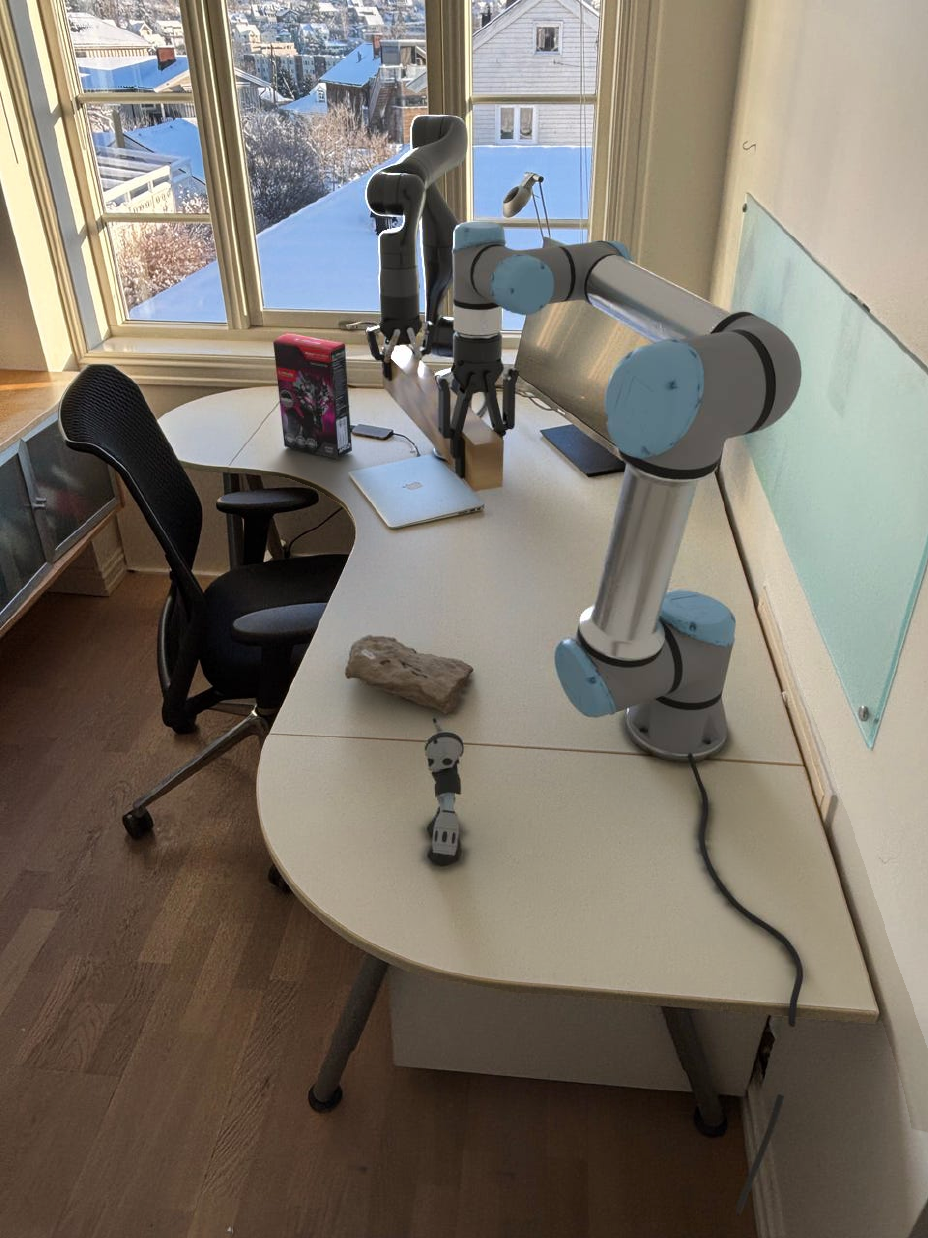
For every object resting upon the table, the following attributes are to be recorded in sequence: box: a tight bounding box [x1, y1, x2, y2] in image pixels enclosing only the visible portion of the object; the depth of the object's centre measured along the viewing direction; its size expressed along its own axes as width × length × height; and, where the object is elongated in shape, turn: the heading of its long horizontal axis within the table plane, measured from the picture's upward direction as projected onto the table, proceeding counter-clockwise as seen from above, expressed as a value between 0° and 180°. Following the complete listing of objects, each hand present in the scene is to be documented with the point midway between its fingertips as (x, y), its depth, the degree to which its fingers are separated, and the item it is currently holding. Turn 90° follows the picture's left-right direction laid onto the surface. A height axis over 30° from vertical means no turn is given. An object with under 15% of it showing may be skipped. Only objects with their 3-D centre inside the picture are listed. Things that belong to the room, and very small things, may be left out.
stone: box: [344, 634, 474, 714], centre depth 150 cm, size 21×15×6 cm
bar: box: [380, 344, 505, 493], centre depth 167 cm, size 51×5×8 cm, turn 21°
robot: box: [423, 717, 465, 867], centre depth 118 cm, size 20×5×20 cm, turn 3°
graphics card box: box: [272, 332, 353, 460], centre depth 223 cm, size 17×7×27 cm, turn 62°
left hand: (402, 377), depth 183 cm, fingers closed on bar, 5 cm apart
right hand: (476, 472), depth 153 cm, fingers closed on bar, 5 cm apart
